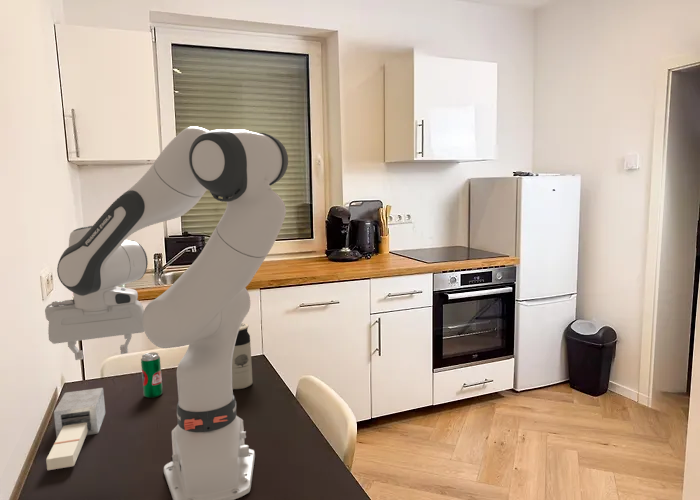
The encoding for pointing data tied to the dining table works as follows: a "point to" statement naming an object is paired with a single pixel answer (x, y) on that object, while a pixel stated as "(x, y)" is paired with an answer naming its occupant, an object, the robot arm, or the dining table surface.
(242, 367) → the white bottle
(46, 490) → the dining table surface
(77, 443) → the ticket
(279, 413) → the dining table surface
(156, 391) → the soda can
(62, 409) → the dispenser
